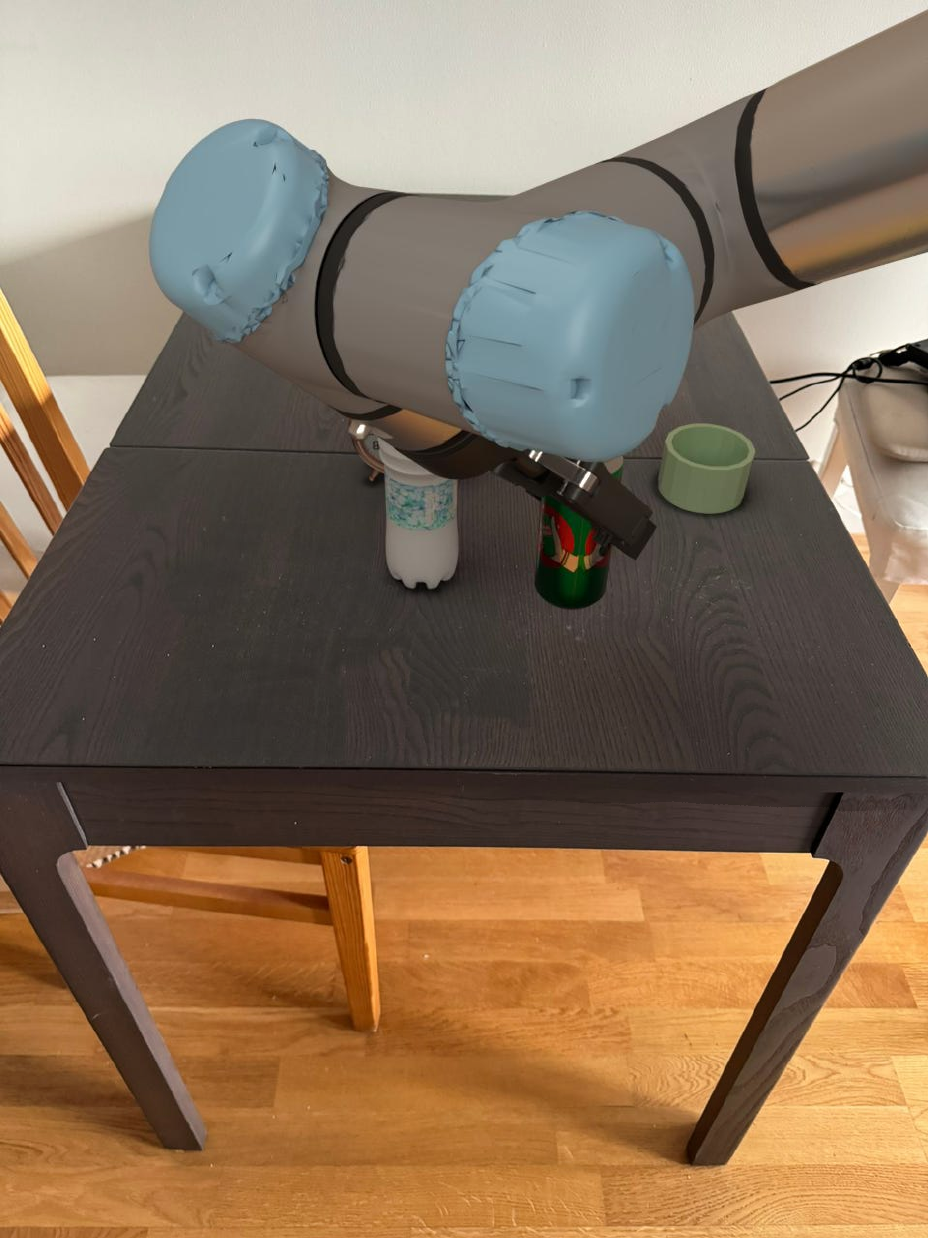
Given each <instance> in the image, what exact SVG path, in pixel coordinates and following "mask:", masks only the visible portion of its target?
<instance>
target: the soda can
mask: <svg viewBox="0 0 928 1238" xmlns="http://www.w3.org/2000/svg"><path fill="white" fill-rule="evenodd" d="M602 463H604V464H605V466H606V468H607V470H608V471H609V472H610V473H611V474H612V475H613V476H614V477H615V478H616V479H617V480H618V481H620V482H621V483H623V475H624V468H625V458H624V455H623V456H620V457H618V458H615V459H612V460H609V461H603V462H602ZM538 517H539V518H538V528H537V529H538V531H537V541H536V542H537V544H536V557H535V570H534V571H535V572H534V580H533V581H534V583H533V584H534V588H535V591H536V592H537V594H538V595H539V596H540V597H541V599H543V600H544V601H545V602H546V603H548V604H549V605H551V606H553V607H555V608H559V609H561V610H567V611H569V610H570V611H575V610H576V611H577V610H583V609H586V608H589V607H591V606H593V605H594V604H596V603H599V601H600V600H601V599H602V598H603V597H604V595H605V594H606V590H607V585H608V580H609V579H608V577H609V573H610V572H609V571H610V566H611V565H610V564H611V558H612V551H613V545H612V544H611V543H610V542H609V543H608V545H607V547H604V546H602V545H600V544H598V543H597V542H595V541H593V540H592V537H593V535H594V534H595V531H594V530H592V529H591V527H592V524H590V523H589V522H587V521H586V520H584V519H583V518H581V517H580V516H579V515H577V514H576V513H574V512H573V511H571V510H570V509H568V508H567V507H566V506H564V505H563V504H561V503H560V502H558V501H557V500H555V499H554V498H553V497H551V496H550V495H548V496H546V497H545V498H541V502H540V505H539V516H538Z"/></svg>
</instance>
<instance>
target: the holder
mask: <svg viewBox="0 0 928 1238" xmlns="http://www.w3.org/2000/svg"><path fill="white" fill-rule="evenodd" d="M755 455H756V449H755V447H754V444H753V442H752V441H751V440H750V439H749V438H747V436H745V435H743V434H742V433H741V432H739V431H737V430H735V429H732V428H731V427H728V426H723V425H718V424H713V423H699V422H698V423H688V424H685V425H680V426H678V427H675V428H674V429H673V430H671V431H669V432H668V434H667V436H666V438H665V439H664V444H663V451H662V455H661V461H660V467H659V472H658V477H657V488H658V491H659V493H660V494H661V496H662V497H663V498H664V499H665V500H666V501H667V502H669V503H670V504H672V505H673V506H675V507H678V508H679V509H682V510H685V511H689V512H692V513H697V514H708V515H709V514H710V515H711V514H712V515H713V514H722V513H726V512H729V511H732V510H734V509H735V508H737V507H738V506H739V505H740V504H741V503H742V501H743V499H744V496H745V493H746V490H747V486H748V482H749V478H750V475H751V471H752V467H753V463H754V459H755Z"/></svg>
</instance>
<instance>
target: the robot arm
mask: <svg viewBox="0 0 928 1238" xmlns="http://www.w3.org/2000/svg"><path fill="white" fill-rule="evenodd" d="M152 215H153V216H152V220H151V223H150V224H151V225H150V229H149V236H148V238H149V239H148V256H149V264H150V268H151V272H152V275H153V277H154V280H155V282H156V283H157V285H158V288H159V290H160V291H161V293H162V294H163V295H164V297H165V298H166V299H167V300H168V301H169V302H170V303H171V304H172V305H174V306H175V307H177V308H178V309H179V310H180V311H182V312H184V313H185V314H186V315H187V316H189V317H190V318H192V319H193V320H194V321H195V322H196V323H198V324H199V325H201V326H202V327H203V328H205V329H206V331H208V332H210V333H211V336H212V338H213V339H214V340H215V341H217V342H218V343H220V344H225V345H227V344H228V345H230V346H232V347H233V348H235V349H237V350H238V351H240V352H242V353H243V354H245V355H247V356H248V357H250V358H251V359H253V360H255V361H256V362H258V363H259V364H261V365H262V366H264V367H266V368H267V369H269V370H271V371H273V372H274V373H276V374H277V375H279V376H281V377H282V378H284V379H286V380H287V381H289V382H290V383H292V384H293V385H295V386H297V387H298V388H299V389H301V390H303V391H305V392H306V393H307V394H309V395H311V396H312V397H314V398H316V399H317V400H318V401H320V402H322V403H324V404H326V405H327V406H328V407H329V408H331V409H332V410H334V411H336V412H337V413H339V414H340V415H341V416H343V417H345V418H346V419H348V420H349V419H351V420H352V423H351V425H350V427H349V426H348V430H347V432H348V435H349V437H350V438H351V437H353V438H354V439H355V440H357V441H361V442H362V441H365V440H366V439H367V438H368V436H369V434H370V432H371V433H372V434H374V435H375V436H377V437H378V438H380V439H382V440H383V441H385V442H386V443H388V444H389V445H391V446H393V447H394V448H395V449H396V450H397V451H398V452H400V453H401V454H402V455H404V456H406V457H407V458H409V459H410V460H412V461H413V462H415V463H417V464H418V465H420V466H421V467H423V468H424V469H426V470H427V471H429V472H431V473H433V474H434V475H437V476H439V477H442V478H446V479H454V480H457V481H458V480H468V479H472V478H476V477H478V476H481V475H483V474H486V473H488V472H490V473H492V474H494V475H495V476H497V477H499V478H501V479H503V480H505V481H507V482H508V483H510V484H512V485H514V486H516V487H521V488H523V489H524V492H526V494H528V495H530V496H531V497H532V498H533V499H535V500H536V501H538V502H539V503H541V498H545V497H546V496H548V495H550V496H551V497H553V498H554V499H555V500H557V501H558V502H560V503H561V504H563V505H564V506H566V507H567V508H568V509H570V510H571V511H573V512H574V513H576V514H577V515H579V516H580V517H581V518H583V519H584V520H586V521H587V522H589V523H590V524H592V527H591V529H592V530H594V531H595V534H594V535H593V537H592V540H593V541H595V542H597V543H598V544H600V545H602V546H604V547H607V545H608V543H609V542H610V543H611V544H612V546H614V547H615V548H616V549H618V550H619V551H620V552H622V553H623V554H624V555H626V556H627V557H628V558H630V559H632V560H633V561H637V560H638V558H639V556H640V555H641V554H642V552H643V550H644V549H645V547H646V545H647V544H648V542H649V541H650V539H651V538H652V537H653V534H654V533H655V531H656V529H657V528H658V526H657V525H656V524H655V523H654V522H653V521H652V520H650V519H651V517H652V515H653V514H654V511H653V510H652V509H651V508H650V506H649V505H648V504H646V503H644V502H643V501H642V500H641V499H640V498H639V497H637V496H636V494H634V493H633V492H632V491H631V490H630V489H628V488H627V486H626V485H624V484H623V482H620V481H618V480H617V479H616V478H615V477H614V476H613V475H612V474H611V473H610V472H609V471H608V470H607V468H606V466H605V464H604V463H602V462H603V461H609V460H612V459H615V458H618V457H620V456H623V457H624V456H625V455H626V454H629V453H630V452H632V451H633V450H634V449H636V448H637V447H638V446H640V445H641V444H642V443H643V442H644V441H645V440H646V439H647V438H648V437H649V436H650V435H651V434H652V433H653V431H654V429H655V428H656V425H657V421H658V418H659V416H660V412H661V410H663V409H667V408H668V407H669V406H670V405H671V404H672V402H673V400H674V398H675V396H676V394H677V392H678V390H679V387H680V385H681V382H682V379H683V377H684V373H685V370H686V367H687V363H688V360H689V357H690V353H691V352H690V351H691V347H692V340H693V333H694V331H696V330H697V329H700V328H701V327H703V326H704V325H706V324H708V322H710V321H712V320H714V319H716V318H718V317H720V316H722V315H726V314H728V313H730V312H734V311H736V310H741V309H744V308H747V307H750V306H754V305H757V304H760V303H764V302H768V301H772V300H775V299H778V298H781V297H785V296H789V295H791V294H794V293H797V292H799V291H803V290H806V289H808V288H813V287H816V286H818V285H821V284H823V283H827V282H829V281H832V280H836V279H840V278H843V277H847V276H850V275H854V274H857V273H860V272H864V271H868V270H871V269H874V268H878V267H881V266H885V265H888V264H892V263H895V262H898V261H903V260H906V259H909V258H912V257H916V256H921V255H923V254H927V253H928V8H927V9H925V10H923V11H921V12H919V13H917V14H914V15H912V16H911V17H909V18H907V19H905V20H903V21H901V22H898V23H896V24H894V25H892V26H890V27H888V28H886V29H884V30H882V31H880V32H878V33H876V34H873V35H871V36H869V37H867V38H865V39H863V40H861V41H859V42H856V43H855V44H852V45H851V46H848V47H846V48H844V49H842V50H840V51H838V52H836V53H834V54H831V55H830V56H828V57H825V58H824V59H822V60H819V61H817V62H815V63H813V64H811V65H809V66H807V67H804V68H803V69H800V70H798V71H796V72H794V73H792V74H790V75H788V76H785V77H784V78H782V79H780V80H778V81H777V82H775V83H773V84H772V85H769V86H768V87H765V88H763V89H761V90H759V91H756V92H753V93H750V94H748V95H746V96H743V97H740V98H739V99H736V100H734V101H733V102H731V103H728V104H726V105H725V106H722V107H721V108H718V109H715V110H714V111H712V112H711V113H708V114H705V115H704V116H701V117H699V118H697V119H695V120H692V121H691V122H689V123H687V124H684V125H683V126H681V127H678V128H676V129H673V130H672V131H670V132H667V133H665V134H663V135H661V136H658V137H656V138H654V139H652V140H650V141H647V142H645V143H642V144H640V145H638V146H636V147H634V148H631V149H628V150H627V151H625V152H622V153H619V154H618V155H616V156H613V157H611V158H608V159H604V160H601V161H598V162H595V163H593V164H591V165H588V166H585V167H582V168H580V169H578V170H575V171H572V172H570V173H568V174H565V175H563V176H560V177H557V178H554V179H553V180H550V181H547V182H545V183H542V184H539V185H537V186H535V187H532V188H529V189H527V190H524V191H522V192H520V193H517V194H515V195H512V196H509V197H506V198H503V199H499V200H494V201H493V200H492V201H469V200H468V201H467V200H459V199H458V200H457V199H449V198H439V197H428V196H427V197H425V196H423V195H422V196H421V195H419V194H414V193H406V192H403V191H397V190H391V189H383V188H376V187H375V188H373V187H367V186H359V185H354V184H352V183H349V182H347V181H346V180H343V179H342V178H340V177H338V176H337V175H336V174H334V173H333V171H332V170H331V169H330V167H329V166H328V163H327V160H326V158H324V156H323V155H322V154H321V153H319V152H317V150H316V149H310V148H309V147H308V146H307V145H305V144H303V143H302V142H301V141H299V140H298V139H297V138H295V136H293V135H292V134H291V133H290V132H289V131H287V130H286V129H285V128H284V127H283V126H280V125H278V124H276V123H274V122H271V121H270V120H266V119H262V118H261V119H260V118H244V119H239V120H234V121H231V122H229V123H226V124H223V125H222V126H220V127H218V128H217V129H214V130H213V131H212V132H210V133H209V134H207V135H206V136H204V137H203V138H202V139H200V141H198V142H197V143H196V144H195V145H194V146H193V147H192V148H191V149H190V150H189V151H188V152H186V154H185V155H184V156H183V158H182V159H181V160H180V162H179V163H178V164H177V165H176V167H175V168H174V170H173V171H172V172H171V174H170V176H169V178H168V180H167V182H166V183H165V186H164V189H163V192H162V195H161V197H160V198H159V200H158V203H157V205H156V207H155V209H154V213H153V214H152Z"/></svg>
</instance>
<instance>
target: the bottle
mask: <svg viewBox="0 0 928 1238" xmlns="http://www.w3.org/2000/svg"><path fill="white" fill-rule="evenodd" d="M378 444H379V447H380V449H379V455H380V458H381V460H382V462H383V463H384V473H383V474H384V491H385V492H384V494H385V495H384V496H385V513H386V525H385V558H386V564H387V568H388V571H389V573H390V574H391V575H390V576H392V577H393V578H394V579H395V580H397V581H398V580H399V581H400V580H401V581H402V582H403V585H404V586H405V587H407V588H408V589H415V588H416V587H417V583H425V585H426V588H427V589H428V590H433V589H436V588H437V587H438V585H440V582H441V581H442V582H443V581H445V582H446V581H449V580H450V579H451V578H453V576H454V574H455V571H456V568H457V565H458V559H459V551H460V550H459V548H460V547H459V531H458V530H459V528H458V480H454V479H446V478H442V477H439V476H437V475H434V474H433V473H431V472H429V471H427V470H426V469H424V468H423V467H421V466H420V465H418V464H417V463H415V462H413V461H412V460H410V459H409V458H407V457H406V456H404V455H402V454H401V453H400V452H398V451H397V450H396V449H395V448H394V447H393V446H391V445H389V444H388V443H386V442H385V441H383V440H382V439H380V438H378Z"/></svg>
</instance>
